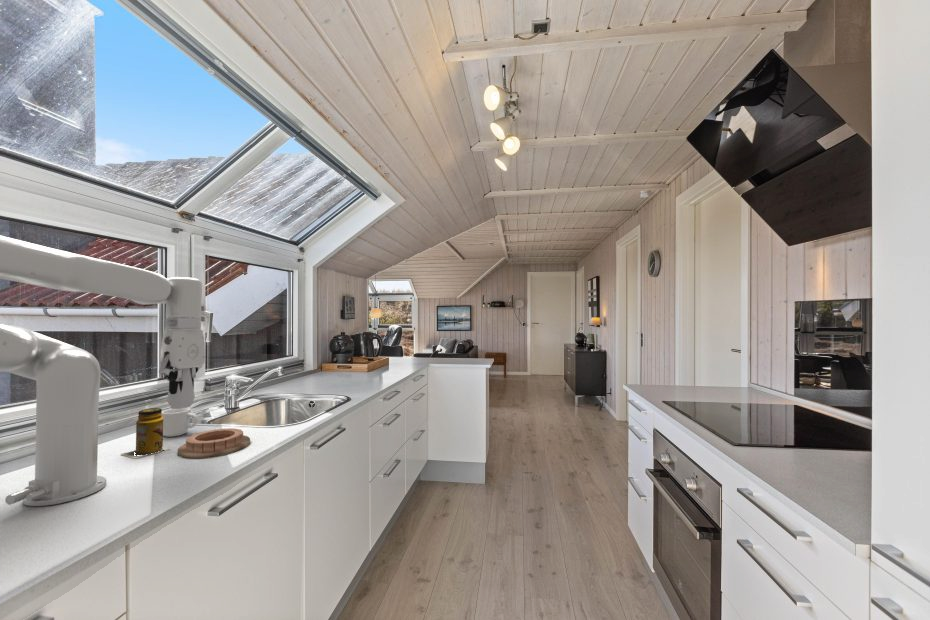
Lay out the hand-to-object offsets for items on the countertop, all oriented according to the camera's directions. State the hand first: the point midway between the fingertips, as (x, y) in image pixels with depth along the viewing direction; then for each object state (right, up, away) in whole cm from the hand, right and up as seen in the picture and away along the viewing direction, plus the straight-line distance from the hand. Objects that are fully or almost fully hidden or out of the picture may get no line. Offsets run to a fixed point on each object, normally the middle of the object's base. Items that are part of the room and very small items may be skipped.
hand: (181, 394), depth 99 cm
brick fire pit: (0, -19, +14) cm, 23 cm away
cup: (-20, -19, +26) cm, 38 cm away
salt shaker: (0, -4, 0) cm, 4 cm away
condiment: (-17, -19, +10) cm, 28 cm away
